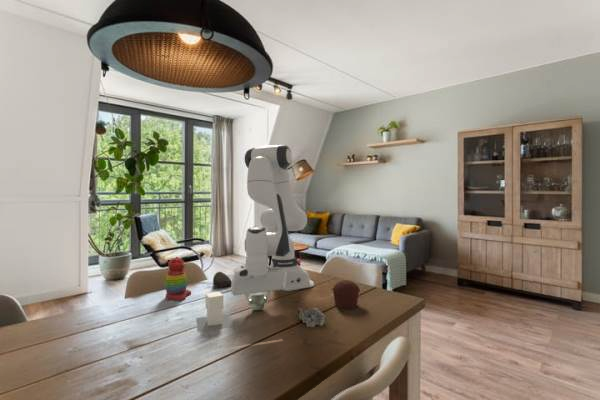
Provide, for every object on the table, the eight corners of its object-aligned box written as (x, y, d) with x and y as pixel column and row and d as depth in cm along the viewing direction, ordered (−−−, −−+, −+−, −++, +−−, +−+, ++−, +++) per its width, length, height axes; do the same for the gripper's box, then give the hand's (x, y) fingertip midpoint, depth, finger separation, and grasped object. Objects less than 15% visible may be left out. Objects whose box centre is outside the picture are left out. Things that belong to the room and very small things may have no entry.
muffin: (350, 299, 139) (350, 276, 139) (365, 307, 129) (365, 283, 128) (327, 303, 134) (327, 279, 134) (340, 312, 124) (340, 286, 124)
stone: (224, 290, 165) (209, 277, 163) (235, 278, 164) (221, 266, 162) (220, 299, 155) (205, 286, 153) (232, 287, 154) (217, 274, 153)
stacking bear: (183, 300, 137) (183, 260, 137) (160, 300, 137) (159, 260, 137) (192, 293, 148) (192, 255, 148) (171, 292, 148) (170, 255, 148)
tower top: (219, 304, 116) (219, 291, 116) (223, 309, 112) (223, 295, 112) (205, 307, 114) (205, 293, 114) (209, 311, 110) (209, 297, 110)
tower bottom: (221, 318, 116) (221, 305, 116) (222, 323, 112) (222, 309, 112) (207, 320, 115) (206, 306, 115) (207, 325, 110) (207, 311, 110)
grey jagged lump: (297, 317, 120) (297, 306, 119) (315, 314, 122) (315, 304, 122) (307, 329, 109) (307, 317, 109) (327, 325, 112) (326, 314, 112)
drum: (262, 304, 128) (262, 292, 127) (265, 308, 123) (265, 296, 123) (250, 306, 126) (250, 293, 126) (252, 310, 121) (252, 298, 121)
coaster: (229, 315, 121) (229, 313, 121) (233, 328, 109) (233, 326, 109) (196, 319, 117) (196, 318, 117) (197, 333, 106) (197, 331, 106)
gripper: (280, 264, 130) (280, 297, 131) (230, 269, 123) (230, 303, 124) (284, 267, 124) (285, 302, 125) (232, 273, 117) (233, 309, 118)
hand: (257, 303), depth 124 cm, fingers closed on drum, 5 cm apart
